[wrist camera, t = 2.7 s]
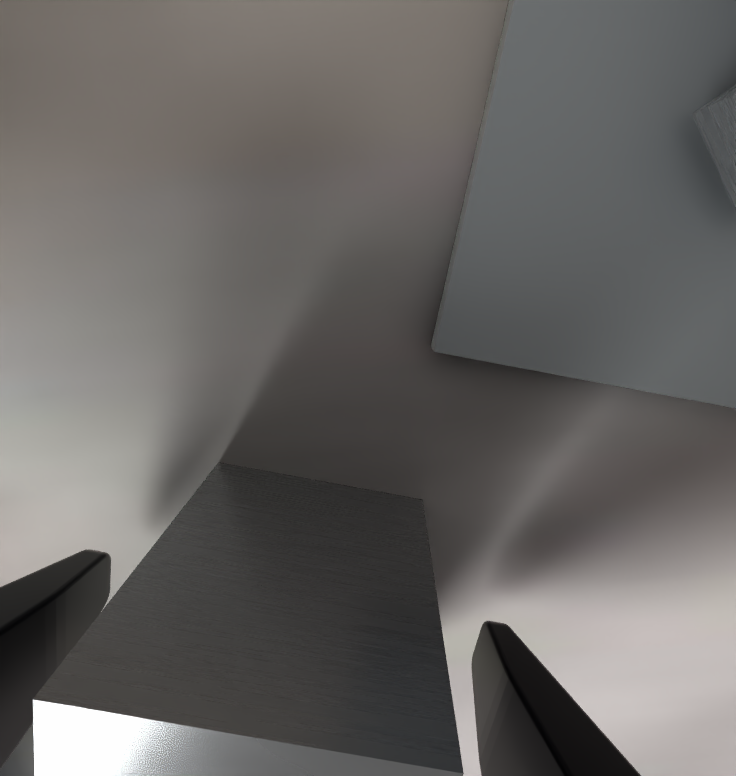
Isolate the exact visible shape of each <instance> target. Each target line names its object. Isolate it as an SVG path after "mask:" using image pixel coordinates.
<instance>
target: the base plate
mask: <svg viewBox="0 0 736 776" xmlns="http://www.w3.org/2000/svg"><path fill="white" fill-rule="evenodd" d="M735 84H736V0H509V3H508V8H507V12H506V16H505V21H504V25H503V30H502V34H501V39H500V43H499V47H498V52H497V56H496V61H495V65H494V69H493V74H492V78H491V83H490V87H489V92H488V96H487V100H486V105H485V109H484V114H483V118H482V123H481V127H480V131H479V136H478V140H477V145H476V149H475V153H474V158H473V162H472V167H471V171H470V176H469V180H468V184H467V189H466V193H465V198H464V202H463V207H462V211H461V215H460V220H459V224H458V229H457V233H456V237H455V242H454V246H453V251H452V255H451V260H450V264H449V268H448V273H447V277H446V282H445V286H444V291H443V295H442V299H441V304H440V308H439V313H438V317H437V321H436V326H435V330H434V335H433V339H432V344H431V347H432V349H433V351H434V352H438V353H443V354H448V355H453V356H459V357H464V358H469V359H475V360H480V361H485V362H491V363H496V364H501V365H507V366H512V367H517V368H523V369H528V370H533V371H538V372H544V373H549V374H554V375H560V376H565V377H570V378H576V379H581V380H586V381H592V382H597V383H602V384H608V385H613V386H618V387H623V388H629V389H634V390H639V391H645V392H650V393H655V394H661V395H666V396H671V397H677V398H682V399H687V400H693V401H698V402H703V403H709V404H714V405H719V406H724V407H730V408H735V409H736V210H735V208H734V206H733V203H732V201H731V199H730V197H729V195H728V192H727V190H726V188H725V186H724V184H723V182H722V179H721V177H720V175H719V173H718V171H717V168H716V166H715V164H714V162H713V160H712V157H711V155H710V153H709V151H708V149H707V146H706V144H705V142H704V140H703V138H702V135H701V133H700V131H699V129H698V127H697V125H696V122H695V120H694V118H693V116H692V114H693V113H694V112H696V111H697V110H699V109H700V108H701V107H703V106H704V105H706V104H707V103H709V102H710V101H712V100H713V99H715V98H716V97H718V96H719V95H721V94H722V93H724V92H725V91H727V90H728V89H729V88H731V87H732V86H734V85H735Z"/></svg>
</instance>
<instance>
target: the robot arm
mask: <svg viewBox="0 0 736 776" xmlns="http://www.w3.org/2000/svg"><path fill="white" fill-rule="evenodd" d="M110 575H111V558H110V555H109V554H108V553H106V552H101V551H95V550H84V551H81V552H79V553H76V554H74V555H72V556H70V557H67V558H65V559H63V560H61V561H58V562H56V563H54V564H52V565H49V566H47V567H45V568H43V569H40V570H38V571H36V572H34V573H31V574H29V575H27V576H25V577H22V578H20V579H18V580H16V581H13V582H11V583H9V584H7V585H4V586H2V587H0V770H1V768H2V767H3V765H4V764H5V762H6V761H7V760H8V758H9V757H10V755H11V754H12V752H13V751H14V750H15V748H16V747H17V745H18V744H19V742H20V741H21V740H22V738H23V737H24V735H25V734H26V732H27V731H28V730H29V728H30V727H31V725H32V724H33V698H34V697H35V696H36V694H37V693H38V692H39V691H40V689H41V688H42V687H43V686H44V684H45V683H46V682H47V680H48V679H49V678H50V677H51V675H52V674H53V673H54V672H55V670H56V669H57V668H58V666H59V665H60V664H61V663H62V661H63V660H64V659H65V658H66V656H67V655H68V654H69V652H70V651H71V650H72V649H73V647H74V646H75V645H76V644H77V642H78V641H79V640H80V638H81V637H82V636H83V635H84V633H85V632H86V631H87V630H88V628H89V627H90V626H91V624H92V623H93V622H94V621H95V619H96V618H97V617H98V616H99V614H100V613H101V611H102V609H103V608H104V606H105V604H106V602H107V599H108V597H109V593H110ZM472 679H473V691H474V703H475V716H476V728H477V741H478V752H479V761H480V768H481V774H482V776H641V775H640V774H639V773H638V772H637V771H636V769H635V768H634V767H633V766H632V765H631V764H630V763H629V762H628V760H627V759H626V758H625V757H624V756H623V755H622V754H621V752H620V751H619V750H618V749H617V748H616V747H615V746H614V745H613V743H612V742H611V741H610V740H609V739H608V738H607V737H606V735H605V734H604V733H603V732H602V731H601V730H600V729H599V728H598V726H597V725H596V724H595V723H594V722H593V721H592V720H591V719H590V717H589V716H588V715H587V714H586V713H585V712H584V711H583V709H582V708H581V707H580V706H579V705H578V704H577V703H576V702H575V700H574V699H573V698H572V697H571V696H570V695H569V694H568V692H567V691H566V690H565V689H564V688H563V687H562V686H561V685H560V683H559V682H558V681H557V680H556V679H555V678H554V677H553V676H552V674H551V673H550V672H549V671H548V670H547V669H546V668H545V666H544V665H543V664H542V663H541V662H540V661H539V660H538V659H537V657H536V656H535V655H534V654H533V653H532V652H531V651H530V649H529V648H528V647H527V646H526V645H525V644H524V643H523V642H522V640H521V639H520V638H519V637H518V636H517V635H516V634H515V633H514V631H513V630H512V629H511V628H510V627H509V626H508V625H506V624H504V623H498V622H493V621H486V622H484V624H483V625H482V627H481V630H480V634H479V637H478V640H477V643H476V646H475V650H474V653H473V657H472Z"/></svg>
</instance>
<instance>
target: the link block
mask: <svg viewBox="0 0 736 776" xmlns="http://www.w3.org/2000/svg"><path fill="white" fill-rule="evenodd" d="M33 729H34V765H35V776H463V774H464V773H463V767H462V760H461V754H460V747H459V740H458V734H457V727H456V720H455V714H454V707H453V700H452V694H451V687H450V681H449V674H448V667H447V661H446V654H445V647H444V641H443V634H442V627H441V621H440V614H439V608H438V601H437V594H436V588H435V581H434V574H433V568H432V561H431V554H430V548H429V541H428V535H427V528H426V521H425V515H424V508H423V501H422V500H421V499H416V498H410V497H405V496H399V495H394V494H389V493H383V492H378V491H372V490H367V489H361V488H356V487H350V486H345V485H339V484H334V483H328V482H323V481H317V480H312V479H307V478H301V477H296V476H290V475H285V474H279V473H274V472H268V471H263V470H257V469H252V468H246V467H241V466H235V465H230V464H224V463H218V464H217V465H216V467H215V468H214V469H213V470H212V472H211V473H210V474H209V475H208V477H207V478H206V479H205V481H204V482H203V483H202V484H201V486H200V487H199V488H198V489H197V491H196V492H195V493H194V495H193V496H192V497H191V498H190V500H189V501H188V502H187V503H186V505H185V506H184V507H183V509H182V510H181V511H180V512H179V514H178V515H177V516H176V517H175V519H174V520H173V521H172V523H171V524H170V525H169V526H168V528H167V529H166V530H165V531H164V533H163V534H162V535H161V537H160V538H159V539H158V540H157V542H156V543H155V544H154V545H153V547H152V548H151V549H150V551H149V552H148V553H147V554H146V556H145V557H144V558H143V559H142V561H141V562H140V563H139V565H138V566H137V567H136V568H135V570H134V571H133V572H132V574H131V575H130V576H129V577H128V579H127V580H126V581H125V582H124V584H123V585H122V586H121V588H120V589H119V590H118V591H117V593H116V594H115V595H114V596H113V598H112V599H111V600H110V602H109V603H108V604H107V605H106V607H105V608H104V609H103V610H102V612H101V613H100V614H99V616H98V617H97V618H96V619H95V621H94V622H93V623H92V624H91V626H90V627H89V628H88V630H87V631H86V632H85V633H84V635H83V636H82V637H81V638H80V640H79V641H78V642H77V644H76V645H75V646H74V647H73V649H72V650H71V651H70V652H69V654H68V655H67V656H66V658H65V659H64V660H63V661H62V663H61V664H60V665H59V666H58V668H57V669H56V670H55V672H54V673H53V674H52V675H51V677H50V678H49V679H48V680H47V682H46V683H45V684H44V686H43V687H42V688H41V689H40V691H39V692H38V693H37V694H36V696H35V697H34V698H33Z"/></svg>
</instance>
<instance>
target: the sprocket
mask: <svg viewBox="0 0 736 776" xmlns="http://www.w3.org/2000/svg"><path fill="white" fill-rule="evenodd" d="M692 116H693V118H694V120H695V122H696V125H697V127H698V129H699V131H700V133H701V135H702V138H703V140H704V142H705V144H706V146H707V149H708V151H709V153H710V155H711V157H712V160H713V162H714V164H715V166H716V168H717V171H718V173H719V175H720V177H721V179H722V182H723V184H724V186H725V188H726V190H727V192H728V195H729V197H730V199H731V201H732V203H733V206H734V208H735V210H736V84H735V85H734V86H732V87H731V88H729V89H728V90H727V91H725V92H724V93H722V94H721V95H719V96H718V97H716V98H715V99H713V100H712V101H710V102H709V103H707V104H706V105H704V106H703V107H701V108H700V109H699V110H697V111H696V112H694V113H693V114H692Z"/></svg>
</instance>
